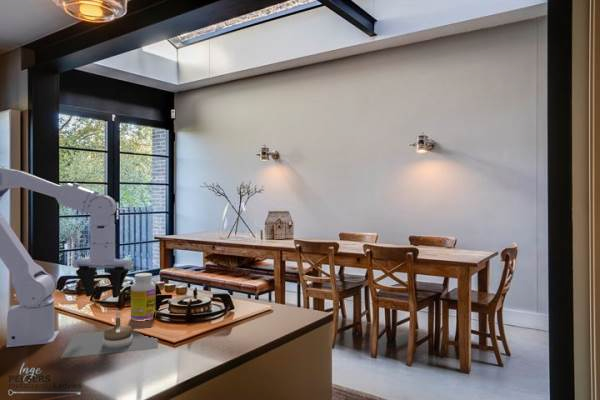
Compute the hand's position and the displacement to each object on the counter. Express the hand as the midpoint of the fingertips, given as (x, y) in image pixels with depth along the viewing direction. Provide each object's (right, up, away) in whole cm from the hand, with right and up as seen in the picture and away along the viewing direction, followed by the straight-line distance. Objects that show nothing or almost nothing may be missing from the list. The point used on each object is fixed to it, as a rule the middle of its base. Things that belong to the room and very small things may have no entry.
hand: (103, 296), depth 107 cm
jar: (+7, -10, -6) cm, 13 cm away
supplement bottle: (+5, -10, +13) cm, 17 cm away
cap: (+5, -8, -4) cm, 10 cm away
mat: (+5, -10, -5) cm, 12 cm away
